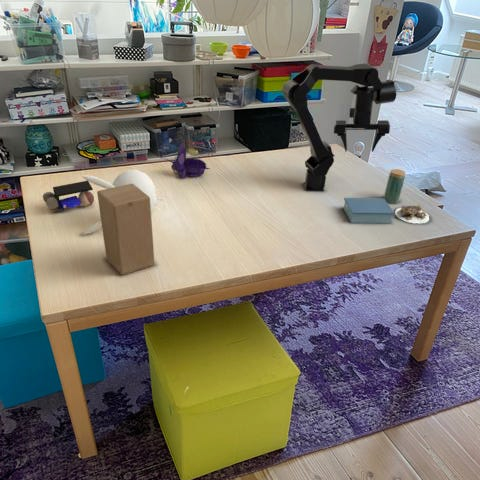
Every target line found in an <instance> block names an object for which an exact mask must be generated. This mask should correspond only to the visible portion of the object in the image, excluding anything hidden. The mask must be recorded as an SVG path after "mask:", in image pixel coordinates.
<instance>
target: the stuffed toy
mask: <svg viewBox="0 0 480 480" xmlns="http://www.w3.org/2000/svg"><path fill="white" fill-rule="evenodd" d="M81 177H82V178H83V179H85V181H88V182H89V183H90V184H93V185H96V186H98V187H101V188H104V189H109V188H114V187H118V186H123V185H128V184H134V185H135V186H136V187H138V188H139V189H140V190H141V191H143V192H144V193H145V194H146V195H148V196H149V197H150V205H151V217H152V215H153V214H154V212H155V210H156V206H157V201H163V197H160V198H157V197H158V194H157V190H156V187H155V184H154V182H153V180H152V179H151V177H149V176H148V175H147V173H145V172H143V171H142V170H138V169H127V170H124V171H123V172H121V173H119V174H118V175H117V176H116V178H114V180H113V181H112V183H110V182H108V181H106V180H104V179H102V178H100V177H98V176H94V175H86V174H85V175H81ZM100 229H102V223H101V219H100V220H99V221H98V222H95V223H94V224H92V225H91V226H90V227H88V228H87V229H86V230H85V231H84V233H82V236H84V235H90V234H93V233H94V232H97V231H98V230H100Z"/></svg>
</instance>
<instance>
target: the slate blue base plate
mask: <svg viewBox="0 0 480 480" xmlns="http://www.w3.org/2000/svg"><path fill="white" fill-rule="evenodd" d="M343 200H344V205H343V210H344V212H345V214H346V216H347V218H348V220H349V222H350V223H351V224H391V223H392V219H393V215H395V211H394V210H393V209H392V208H391V206H390V205H389V204H390V203H388V202H386V200H385V199H384V197H381V198H380V197H344V199H343Z"/></svg>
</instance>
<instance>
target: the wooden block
mask: <svg viewBox="0 0 480 480" xmlns="http://www.w3.org/2000/svg"><path fill="white" fill-rule="evenodd" d="M97 202H98V207H99V216H100V220H101V223H102V227H101V230H102V237H103V245H104V252H105V258H106V260H107V261H108V262H109V264H111V266H113V268H114V269H115V270H116V271H117V272H118V273H119V274H120V275H121V276H123V275H127V274H130V273H133V272H136V271H140V270H144V269H146V268H151V267H153V266H155V264H156V263H155V252H154V251H155V250H154V248H155V247H154V238H153V237H154V235H153V223H152V222H153V221H152V216H151V205H150V197H149V196H148V195H146V194H145V193H144V192H143V191H141V190H140V189H139V188H138V187H136V186H135V185H134V184H128V185H123V186H118V187H114V188H109V189H106V188H104V189H100V190H97Z"/></svg>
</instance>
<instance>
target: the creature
mask: <svg viewBox="0 0 480 480" xmlns="http://www.w3.org/2000/svg"><path fill="white" fill-rule="evenodd" d="M173 155H174V158H175V159H174V160H170V159H167V158H165V157H164V158H163V159H164V160H166V161H167V162H170V163H172V164H171V166H170V167H171V170H172V171H173V172H174V173H175V172H176V173H180V174H178V178H181V179H184V178H186V175H187V176H188V177H192V178H193V177H200V176H202V175H204V174H205V171H206V170H210V169H211V168H209V167H208V165H207V164H208V163H206V162H205V160H202V159H201V158H196V157H192V156H191V157H187V147H186V146H185V139H183V140H182V141H181V144H180V146H179V149H178V151H177V154H173Z"/></svg>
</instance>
